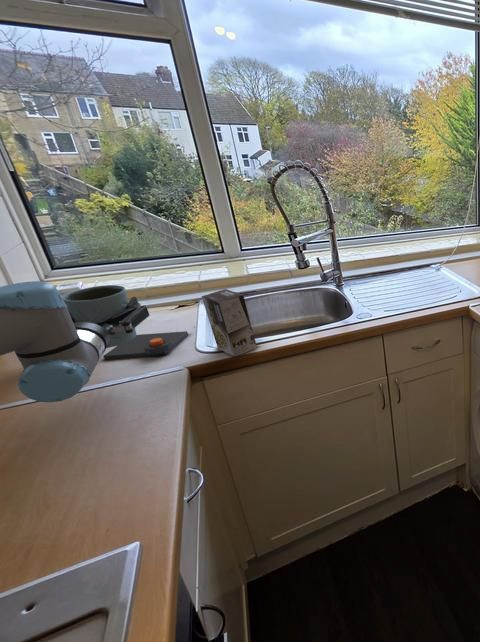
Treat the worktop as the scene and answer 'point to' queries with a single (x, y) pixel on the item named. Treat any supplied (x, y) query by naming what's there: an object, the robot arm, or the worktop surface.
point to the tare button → (156, 342)
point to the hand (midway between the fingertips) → (107, 306)
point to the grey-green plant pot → (99, 307)
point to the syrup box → (69, 288)
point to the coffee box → (229, 321)
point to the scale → (146, 346)
